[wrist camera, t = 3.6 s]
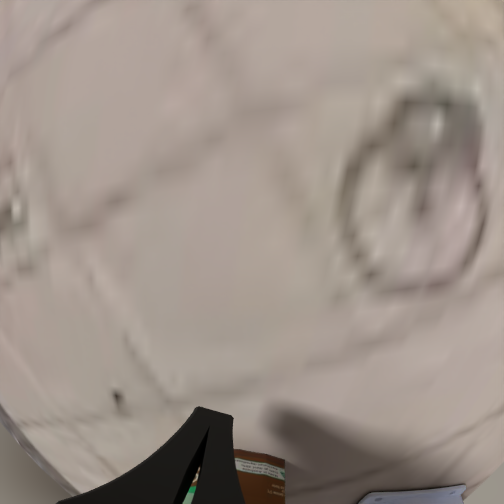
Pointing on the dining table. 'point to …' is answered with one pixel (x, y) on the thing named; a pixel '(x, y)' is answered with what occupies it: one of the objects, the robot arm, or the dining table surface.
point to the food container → (255, 478)
